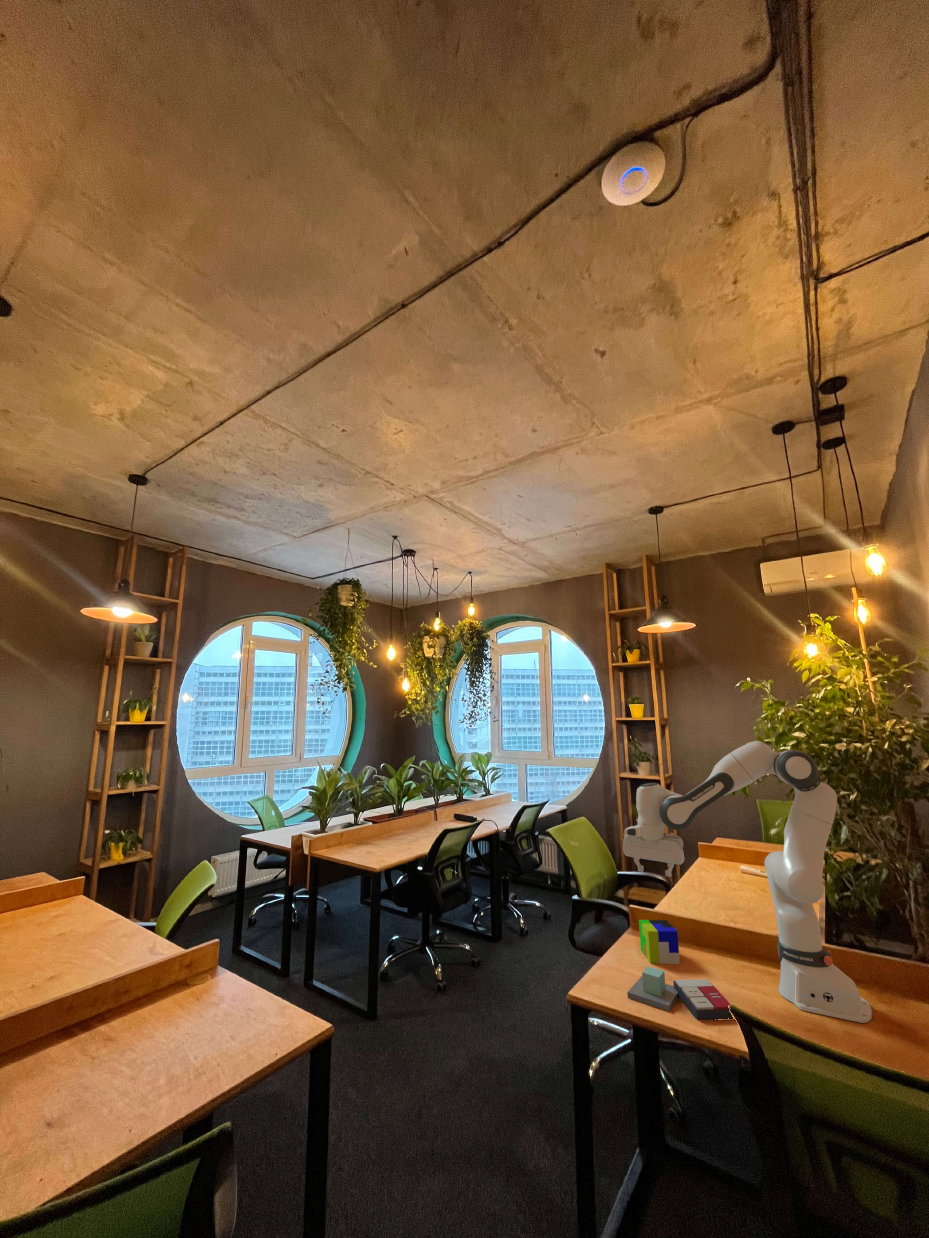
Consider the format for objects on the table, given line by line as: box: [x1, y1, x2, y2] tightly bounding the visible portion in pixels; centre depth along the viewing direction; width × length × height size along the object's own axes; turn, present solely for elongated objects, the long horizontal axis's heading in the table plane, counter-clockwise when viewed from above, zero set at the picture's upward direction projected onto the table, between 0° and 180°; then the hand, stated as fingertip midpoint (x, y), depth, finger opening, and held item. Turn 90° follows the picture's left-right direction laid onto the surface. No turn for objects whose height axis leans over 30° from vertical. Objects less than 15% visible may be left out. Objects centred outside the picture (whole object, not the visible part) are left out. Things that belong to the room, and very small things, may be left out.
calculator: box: [672, 978, 733, 1021], centre depth 147 cm, size 11×4×15 cm
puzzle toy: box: [638, 919, 681, 965], centre depth 178 cm, size 10×10×10 cm
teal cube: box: [641, 965, 666, 996], centre depth 153 cm, size 5×5×5 cm
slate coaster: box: [627, 976, 679, 1012], centre depth 152 cm, size 12×12×2 cm
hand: (654, 873), depth 175 cm, fingers open, 8 cm apart
